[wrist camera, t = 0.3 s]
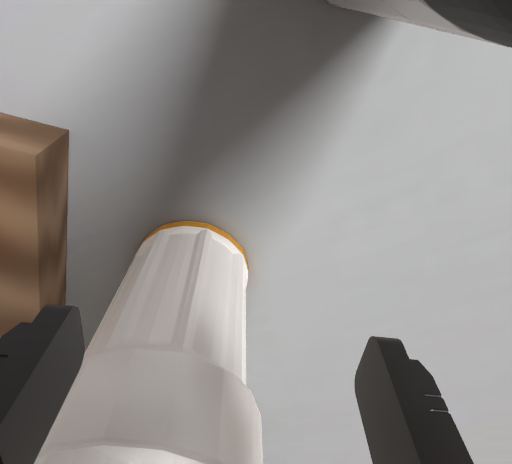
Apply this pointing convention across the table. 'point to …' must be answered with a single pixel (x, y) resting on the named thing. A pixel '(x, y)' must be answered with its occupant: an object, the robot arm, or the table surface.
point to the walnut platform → (32, 218)
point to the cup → (166, 362)
